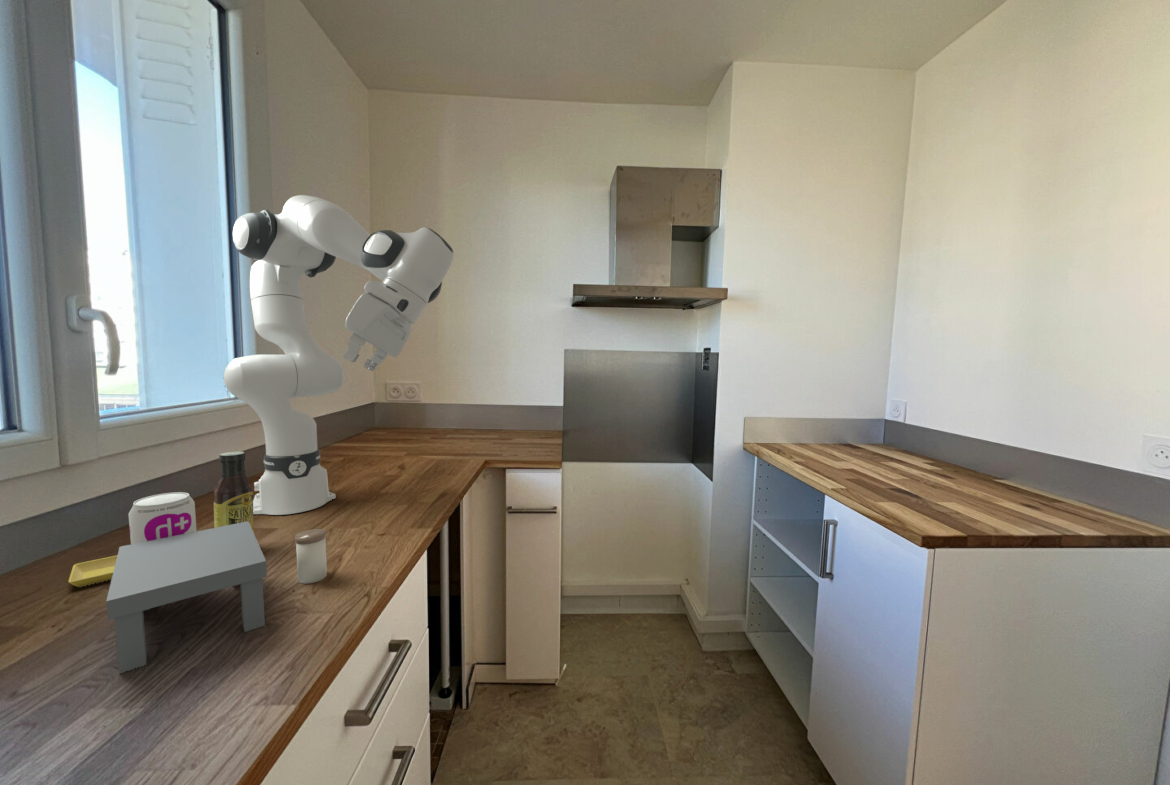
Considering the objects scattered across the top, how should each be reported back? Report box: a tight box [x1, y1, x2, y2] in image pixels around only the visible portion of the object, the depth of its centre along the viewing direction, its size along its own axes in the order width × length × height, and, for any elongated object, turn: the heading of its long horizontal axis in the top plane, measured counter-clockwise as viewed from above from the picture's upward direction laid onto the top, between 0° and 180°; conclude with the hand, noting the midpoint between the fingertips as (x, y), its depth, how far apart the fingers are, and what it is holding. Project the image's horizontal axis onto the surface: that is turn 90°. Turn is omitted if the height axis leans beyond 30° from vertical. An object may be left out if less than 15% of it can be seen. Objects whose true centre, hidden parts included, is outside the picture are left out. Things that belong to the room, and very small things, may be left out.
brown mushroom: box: [294, 528, 328, 585], centre depth 80 cm, size 5×5×8 cm
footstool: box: [105, 521, 268, 675], centre depth 68 cm, size 20×16×10 cm
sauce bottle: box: [213, 451, 255, 534], centre depth 90 cm, size 6×6×20 cm
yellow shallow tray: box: [68, 554, 118, 588], centre depth 81 cm, size 9×9×2 cm
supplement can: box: [128, 491, 198, 545], centre depth 77 cm, size 8×8×15 cm
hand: (358, 365), depth 86 cm, fingers open, 8 cm apart
